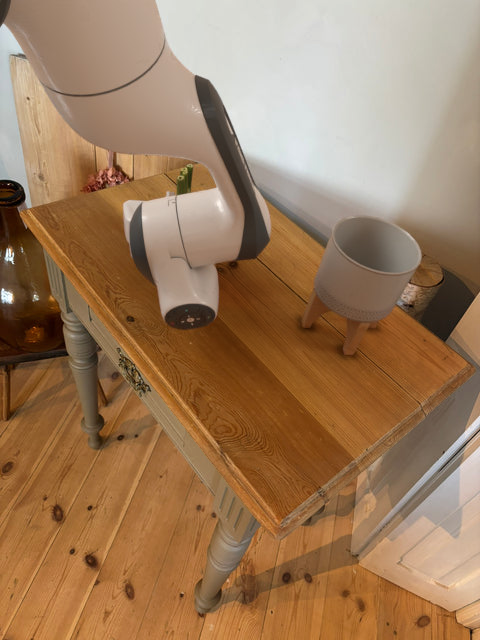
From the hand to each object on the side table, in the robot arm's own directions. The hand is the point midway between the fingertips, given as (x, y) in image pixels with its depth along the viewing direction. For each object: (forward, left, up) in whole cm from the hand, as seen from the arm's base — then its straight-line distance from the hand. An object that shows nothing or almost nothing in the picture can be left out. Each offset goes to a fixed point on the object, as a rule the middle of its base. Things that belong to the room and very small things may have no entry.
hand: (183, 195), depth 82 cm
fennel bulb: (0, -1, -7) cm, 7 cm away
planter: (+26, -23, -9) cm, 36 cm away
